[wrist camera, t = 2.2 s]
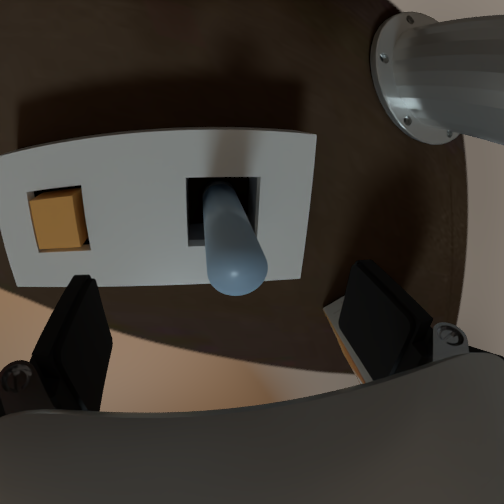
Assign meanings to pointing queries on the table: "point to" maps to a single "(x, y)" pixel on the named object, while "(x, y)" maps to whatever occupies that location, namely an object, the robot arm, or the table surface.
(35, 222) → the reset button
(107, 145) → the white board with holes
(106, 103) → the table surface
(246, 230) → the light blue rod
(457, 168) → the table surface
